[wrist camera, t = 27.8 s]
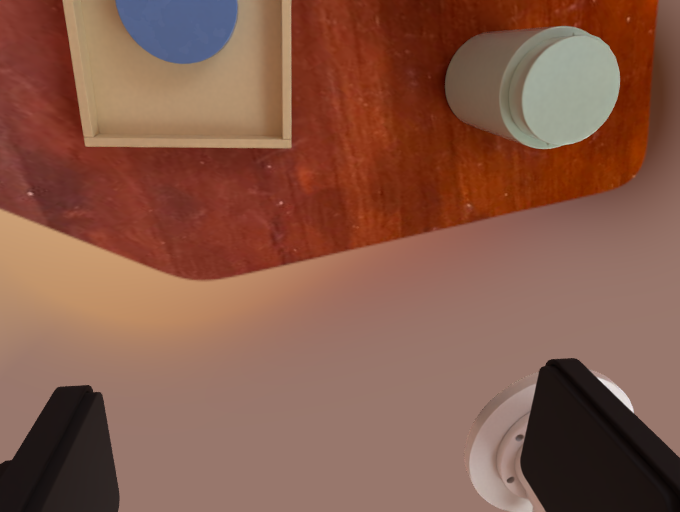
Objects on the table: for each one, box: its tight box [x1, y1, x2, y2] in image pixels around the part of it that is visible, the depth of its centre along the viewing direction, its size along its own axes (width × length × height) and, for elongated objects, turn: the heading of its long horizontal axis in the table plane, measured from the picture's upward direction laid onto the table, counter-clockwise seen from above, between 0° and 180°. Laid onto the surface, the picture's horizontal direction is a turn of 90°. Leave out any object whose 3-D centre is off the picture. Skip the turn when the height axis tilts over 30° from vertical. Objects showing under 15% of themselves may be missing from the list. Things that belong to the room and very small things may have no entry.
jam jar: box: [445, 26, 620, 149], centre depth 32 cm, size 7×7×11 cm
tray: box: [62, 0, 291, 148], centre depth 31 cm, size 17×13×2 cm
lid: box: [115, 0, 238, 64], centre depth 30 cm, size 7×7×2 cm
